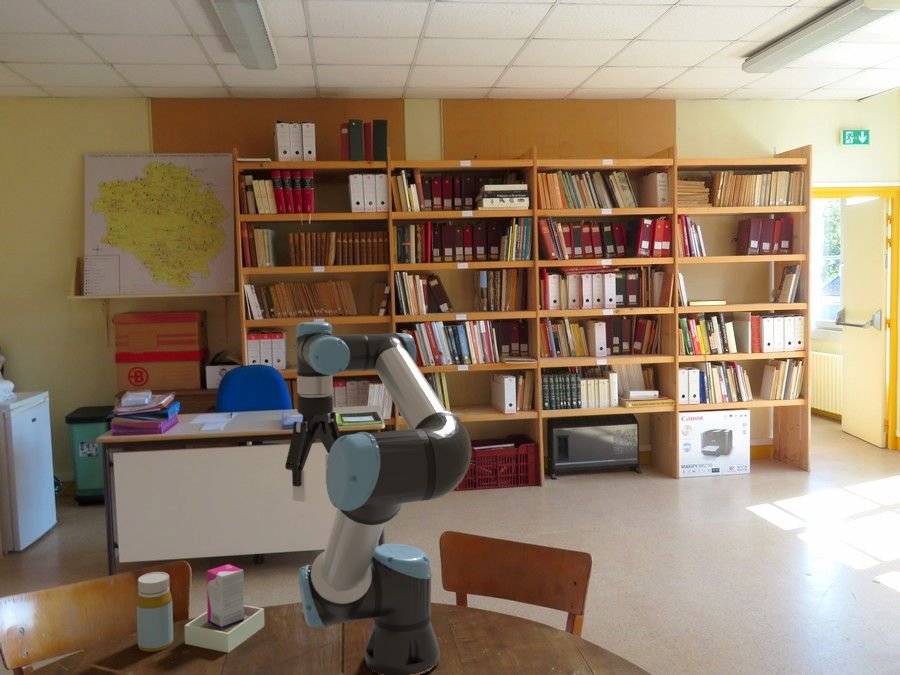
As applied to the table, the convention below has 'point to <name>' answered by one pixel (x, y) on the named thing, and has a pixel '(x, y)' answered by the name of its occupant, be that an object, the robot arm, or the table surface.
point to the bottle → (154, 612)
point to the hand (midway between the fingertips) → (316, 492)
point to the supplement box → (225, 596)
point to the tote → (223, 639)
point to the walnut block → (213, 627)
